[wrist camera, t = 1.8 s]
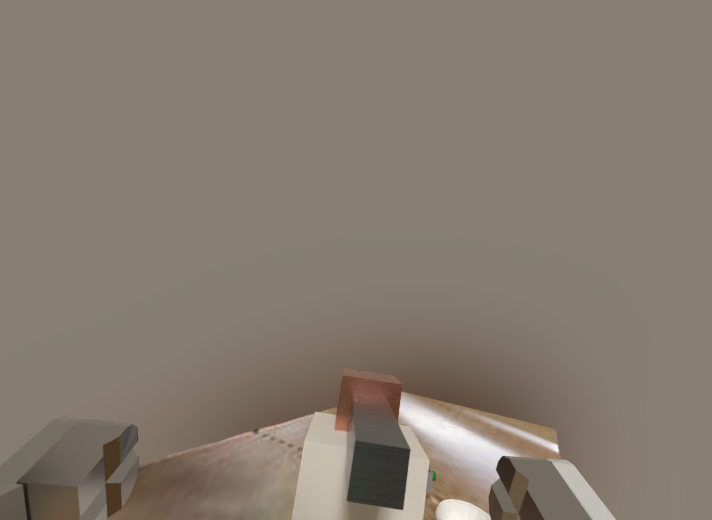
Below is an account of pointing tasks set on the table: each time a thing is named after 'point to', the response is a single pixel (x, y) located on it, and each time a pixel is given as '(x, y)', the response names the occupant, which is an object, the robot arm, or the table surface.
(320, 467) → the cream block
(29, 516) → the robot arm
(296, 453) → the table surface
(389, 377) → the grey long block
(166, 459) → the table surface
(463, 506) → the cup
